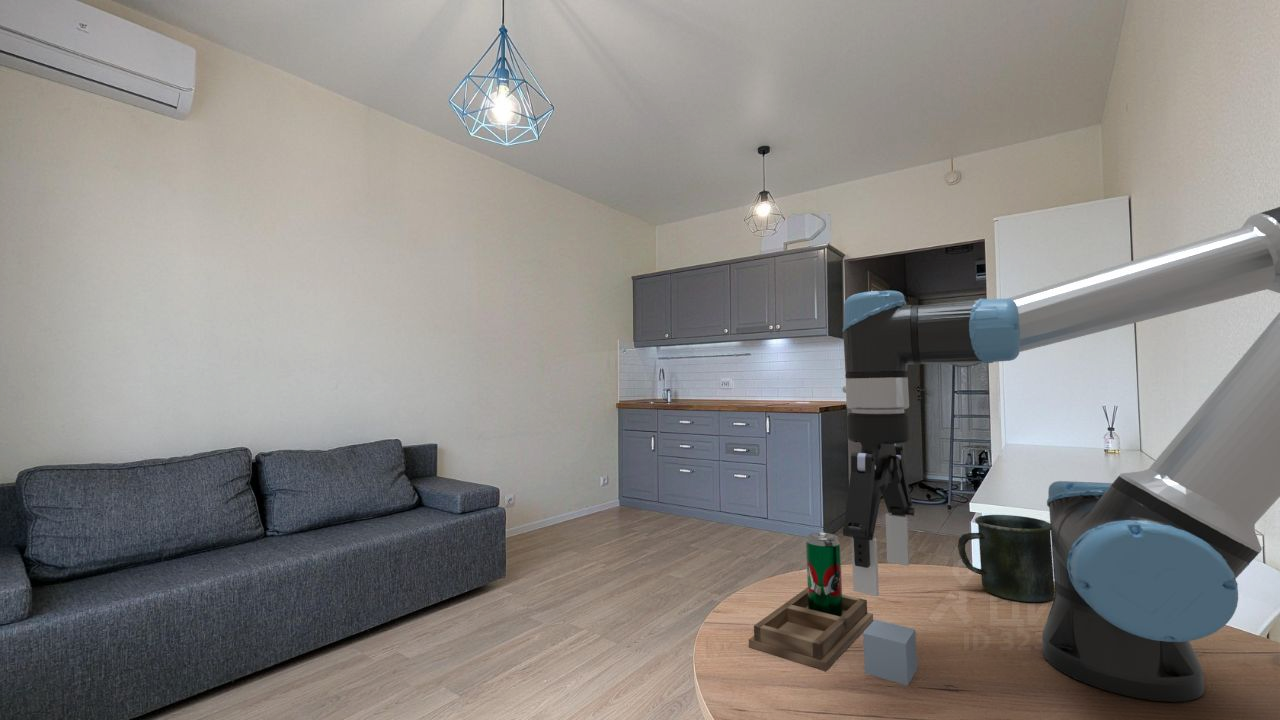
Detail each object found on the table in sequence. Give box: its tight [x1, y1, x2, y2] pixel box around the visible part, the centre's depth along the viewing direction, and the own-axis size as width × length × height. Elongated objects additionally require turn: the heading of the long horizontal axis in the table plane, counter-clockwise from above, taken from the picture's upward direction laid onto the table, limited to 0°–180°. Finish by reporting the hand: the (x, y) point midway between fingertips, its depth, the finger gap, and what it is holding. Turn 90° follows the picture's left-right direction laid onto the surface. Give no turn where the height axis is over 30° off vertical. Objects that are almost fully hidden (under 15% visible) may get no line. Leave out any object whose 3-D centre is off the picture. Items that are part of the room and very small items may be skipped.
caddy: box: [748, 586, 874, 672], centre depth 81 cm, size 11×19×3 cm, turn 140°
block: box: [862, 619, 918, 687], centre depth 69 cm, size 5×5×5 cm
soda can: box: [805, 532, 843, 616], centre depth 84 cm, size 5×5×12 cm
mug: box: [957, 514, 1055, 603], centre depth 94 cm, size 11×15×12 cm
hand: (883, 577), depth 70 cm, fingers open, 13 cm apart
